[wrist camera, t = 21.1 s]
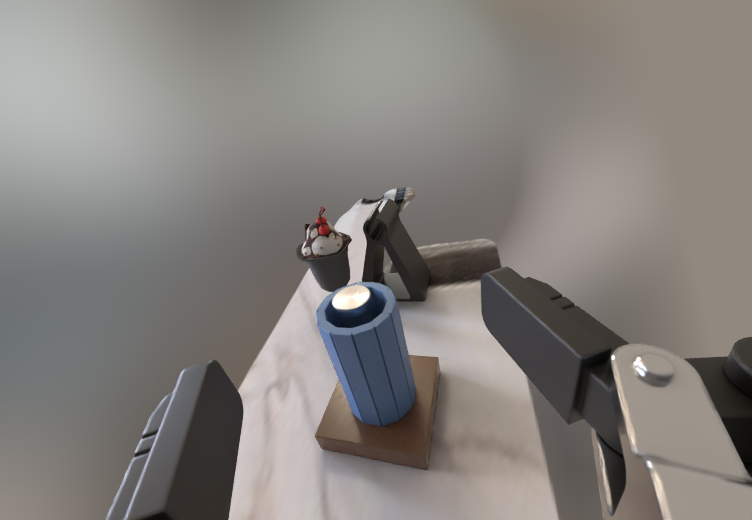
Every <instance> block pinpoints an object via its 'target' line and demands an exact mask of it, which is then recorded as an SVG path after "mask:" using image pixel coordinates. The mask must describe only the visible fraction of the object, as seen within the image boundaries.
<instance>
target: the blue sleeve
mask: <svg viewBox="0 0 752 520" xmlns="http://www.w3.org/2000/svg"><path fill="white" fill-rule="evenodd" d="M354 285H360V286H364V287H366V288H368V289H369V290H370V293H371V296H372V300H373V302H372V306H371V308H370V309H371V312H372V316H373V319H374V320H373V321H371V322H370V323H367V324H364V325H361V326H358V327H355V328H345V326H344V323H343V320H342V318H341V317H339V316H338V315H337V314H336V313H335V310H334V308H333V305H332V300H333V297H334V296H335V294H336V293H337V292H339V291H340V290H342V289H344V288H346V287H349V286H354ZM316 320H317V326H318V328H319V331H320V333H321V336H322V338H323V341H324V343H325V346H326V348H327V351H328V353H329V356H330V358H331V361H332V363H333V366H334V368H335V371H336V373H337V376H338V378H339V381H340V383H341V386H342V388H343V391H344V393H345V396H346V398H347V400H348V403H349V405H350V408H351V410H352V412H353V414H354V415H355V416H356V417H358V418H359V419H360V420H361V421H362V422H363V423H364V422H365V424H371V425H377V426H382V425H383V426H385V425H388V424H390V423H393V422H396V421H398V420H400V419H399V418H402V417H403V416H404V415H405V414H406V413H407V412H408V411H409V409H410V408H411V407H412V405H413V403H414V398H415V393H416V387H415V382H414V378H413V373H412V369H411V364H410V359H409V355H408V350H407V346H406V341H405V337H404V332H403V328H402V323H401V318H400V314H399V309H398V305H397V300H396V298H395V296H394V294H393V292H392V290H391V289H390V288H389V287H387V286H384V285H382V284H380V283H375V282H359V283H354V284H351V285H347V286H344V287H341V289H337V290H336V291H334V292H333V293H331V294H330V295H329V296H327V297H326V298H325V299H324V300H323V301H322V303H321V304H320V306H319V308H318V309H317V311H316Z"/></svg>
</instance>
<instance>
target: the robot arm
mask: <svg viewBox="0 0 752 520" xmlns="http://www.w3.org/2000/svg"><path fill="white" fill-rule="evenodd" d="M481 303H482V316H483V320H484V322H485V325H486V327H487V328H488V330H489V331H490V333H491V334H492V335H493V336H494V337H495V339H496V340H497V341H498V342H499V343H500V344H501V346H502V347H503V348H504V349H505V350H506V352H507V353H508V354H509V355H510V356H511V357H512V359H513V360H514V361H515V362H516V363H517V365H518V366H519V367H520V368H521V369H522V370H523V372H524V373H525V374H526V375H527V376H528V377H529V379H530V380H531V381H532V382H533V383H534V385H535V386H536V387H537V388H538V389H539V390H540V392H541V393H542V394H543V395H544V396H545V398H546V399H547V400H548V401H549V402H550V403H551V405H552V406H553V407H554V408H555V409H556V410H557V412H558V413H559V414H560V415H561V416H562V418H563V419H564V420H565V421H566V422H567V423H568V424H571V423H574V422H576V421H579V420H581V419H585V420H586V421H587V422H588V423H589V424H590V425H591V427H592V442H593V448H594V456H595V463H596V470H597V477H598V484H599V491H600V498H601V505H602V512H603V520H752V337H748V338H743V339H741V340H738V341H737V342H736V343H735V344H734V346H733V348H732V350H731V352H730V354H729V355H728V357H711V358H689V359H683V358H681V357H680V356H678V355H676V354H674V353H672V352H670V351H668V350H665V349H663V348H660V347H656V346H652V345H647V344H629V343H628V342H626V341H625V340H623V339H622V338H621V337H619V336H618V335H617V334H615V333H614V332H612V331H611V330H610V329H608V328H607V327H606V326H604V325H603V324H601V323H600V322H599V321H597V320H596V319H595V318H593V317H592V316H591V315H589V314H588V313H586V312H585V311H584V310H582V309H581V308H579V307H578V306H575V305H574V303H573V302H571V301H570V300H569V299H567V298H566V297H562V295H561V294H560V293H559V292H558V291H556V290H555V289H554V288H552V287H551V286H549V285H548V284H546V283H543V282H541V281H538V280H535V279H533V278H530V277H528V278H525V279H524V278H523V277H521V276H520V275H519V274H517V273H516V272H515V271H513V270H512V269H511V268H509V267H503V268H500V269H497V270H494V271H491V272H488V273H485V274H483V275H482V276H481ZM242 421H243V404H242V399H241V396H240V394H239V392H238V391H237V389H236V388H235V387H234V385H233V383H232V382H231V380H230V379H229V377H228V376H227V374H226V373H225V371H224V370H223V368H222V367H221V365H220V364H219V363H218V362H217V361H216V360H210V361H207V362H204V363H201V364H198V365H195V366H192V367H189V368H186V369H184V370H183V371H182V372H181V374H180V376H179V379H178V382H177V384H176V387H175V389H174V392H173V393H171V394H168V395H166V396H165V398H164V399H163V400H162V401H161V403H160V404H159V405H158V407H157V408H156V409H155V410H154V412H153V413H152V414H151V416H150V419H149V421H148V423H147V425H146V428H145V430H144V432H143V435H142V437H143V439H142V440H140V442H139V444H138V446H137V449H136V451H135V453H134V454H135V458H132V460H131V462H130V465H129V467H128V470H127V472H126V474H125V476H124V479H123V481H122V483H121V486H120V488H119V490H118V493H117V495H116V497H115V499H114V502H113V504H112V507H111V509H110V511H109V513H108V516H107V518H106V520H228V518H229V511H230V504H231V497H232V490H233V483H234V476H235V469H236V462H237V456H238V449H239V442H240V435H241V428H242Z"/></svg>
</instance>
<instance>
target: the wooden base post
mask: <svg viewBox="0 0 752 520" xmlns="http://www.w3.org/2000/svg"><path fill="white" fill-rule="evenodd" d="M372 302H373V300H372V296H371V293H370V290H369V289H368V288H366V287H364V286H360V285H354V286H349V287H346V288H344V289H342V290H340V291H339V292H337V293H336V294H335V296H334V297H333V300H332V305H333V308H334V310H335V313H336V314H337V315H338V316H339V317H341V318H342V320H343V323H344V326H345V328H355V327H358V326H361V325H364V324H367V323H370V322H371V321H373V320H374V319H373V316H372V312H371V309H370V308H371V306H372ZM409 359H410V364H411V369H412V373H413V378H414V382H415V387H416V393H415V398H414V403H413V405H412V407H411V408H410V409H409V411H408V412H407V413H406V414H405V415H404V416H403V417H402V418H399V419H400V420H398V421H396V422H393V423H390V424H388V425H385V426H383V425H382V426H377V425H371V424H365V422H364V423H363V422H362V421H361V420H360V419H359V418H358V417H356V416H355V415H354V414H353V412H352V410H351V408H350V405H349V403H348V400H347V398H346V396H345V393H344V391H343V388H342V386H341V383H340V381H338V383H337V385H336V388H335V390H334V392H333V395H332V397H331V399H330V402H329V404H328V406H327V408H326V411H325V413H324V415H323V418H322V420H321V422H320V425H319V427H318V429H317V432H316V434H315V437H316V439H317V441H318V443H319V445H320V447H321V449H325V450H330V451H335V452H340V453H345V454H350V455H355V456H360V457H365V458H370V459H375V460H380V461H385V462H390V463H395V464H400V465H405V466H411V467H416V468H421V469H426V470H428V465H429V457H430V449H431V441H432V433H433V425H434V417H435V409H436V401H437V393H438V385H439V377H440V366H439V360H438V357H427V356H413V355H409Z"/></svg>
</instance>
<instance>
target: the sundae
mask: <svg viewBox="0 0 752 520" xmlns="http://www.w3.org/2000/svg"><path fill="white" fill-rule="evenodd" d="M321 211H323V212H324V211H325V208H324V207H321V210H320V212H319V218H318V219H317V220H316V222H315V223H313V224H306V225H305V236H306V241H305V242H304V243H302V244H301V245H299V246H298V247H297V249H296V256H297V258H298V259H299V260H300V261H306V263H307V264H308V266H309V268H310V269H311V271H312V273H313V275H314V277H315V279H316V281H317V282H318V283H319V285H320V286H321V288H322V289H324V290H326V291H329V292H334V291H336V290H337V289H341V287H344V286H346V285H347V284H348V282H349V280H350V267H349V260H348V253H347V252H348V245H349V243H350V242H351V241H352V239H351V238H350V236H349V235H346V234H344V233H341V232H337V231H336V230H335V229H334V227H333V226H332V225H331V224H330V223H328V222H326V218H324V217H321V215H322V213H323V212H322V213H321ZM320 213H321V214H320Z"/></svg>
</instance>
